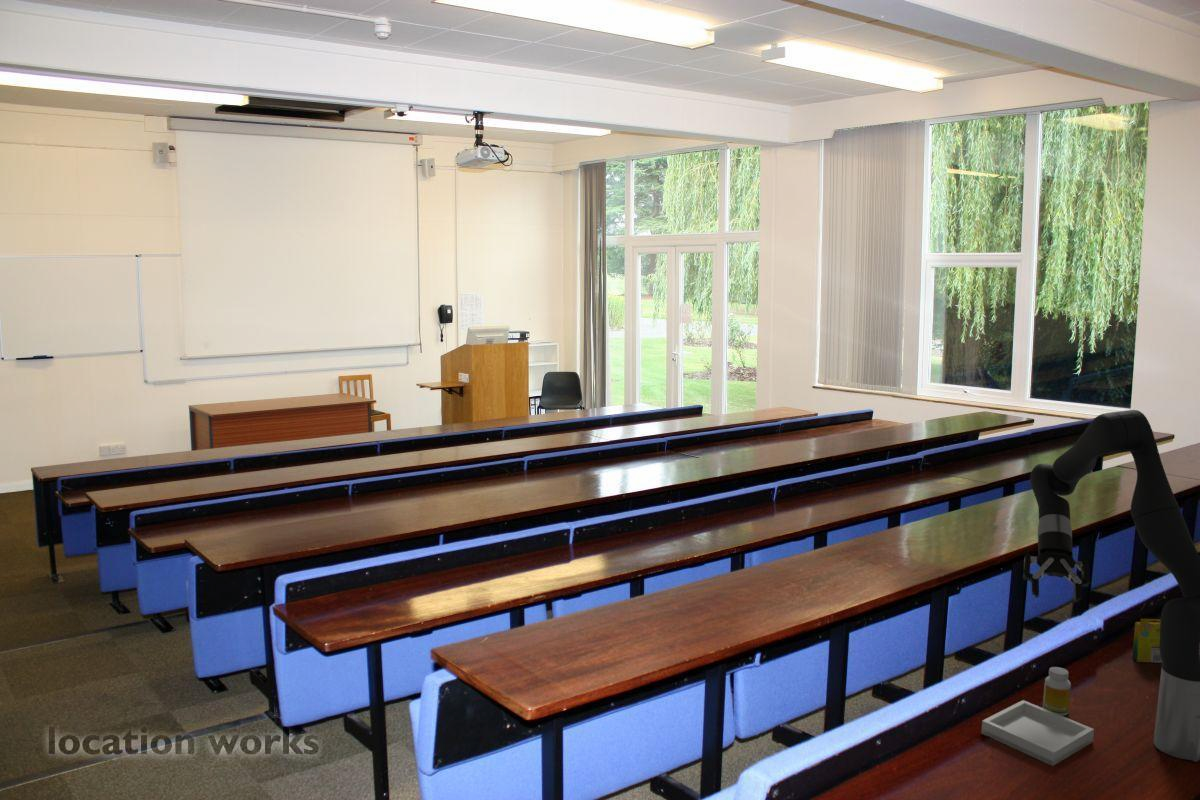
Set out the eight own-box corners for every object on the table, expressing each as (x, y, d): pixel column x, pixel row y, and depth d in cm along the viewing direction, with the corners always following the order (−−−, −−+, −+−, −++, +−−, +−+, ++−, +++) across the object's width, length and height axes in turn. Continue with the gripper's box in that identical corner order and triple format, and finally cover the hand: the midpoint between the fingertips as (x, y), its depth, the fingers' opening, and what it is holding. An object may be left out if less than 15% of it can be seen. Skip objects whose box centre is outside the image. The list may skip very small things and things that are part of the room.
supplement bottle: (1071, 717, 213) (1075, 676, 211) (1045, 715, 214) (1049, 674, 212) (1065, 706, 218) (1068, 666, 216) (1039, 703, 219) (1043, 664, 217)
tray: (1092, 742, 202) (1094, 729, 202) (1052, 766, 193) (1054, 752, 192) (1022, 712, 215) (1023, 700, 214) (981, 733, 206) (982, 720, 205)
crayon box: (1161, 658, 243) (1166, 615, 241) (1167, 663, 240) (1171, 620, 238) (1131, 657, 244) (1135, 614, 242) (1136, 662, 241) (1140, 618, 239)
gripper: (1025, 527, 231) (1025, 588, 222) (1090, 533, 227) (1093, 595, 218) (1021, 541, 237) (1021, 601, 228) (1084, 547, 232) (1087, 609, 224)
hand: (1056, 598), depth 223 cm, fingers open, 8 cm apart
